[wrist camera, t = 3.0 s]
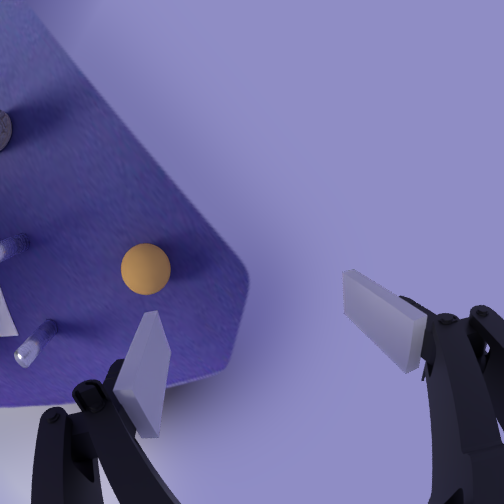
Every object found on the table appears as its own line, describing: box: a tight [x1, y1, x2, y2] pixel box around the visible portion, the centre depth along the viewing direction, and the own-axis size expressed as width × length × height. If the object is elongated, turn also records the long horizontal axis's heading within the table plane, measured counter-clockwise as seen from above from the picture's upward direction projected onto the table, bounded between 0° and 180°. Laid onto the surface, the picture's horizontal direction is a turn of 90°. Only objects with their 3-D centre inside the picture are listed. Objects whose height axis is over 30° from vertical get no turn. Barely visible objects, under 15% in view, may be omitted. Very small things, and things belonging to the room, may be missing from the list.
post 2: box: [14, 319, 58, 368], centre depth 26 cm, size 2×2×9 cm
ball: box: [121, 243, 171, 295], centre depth 29 cm, size 6×6×6 cm
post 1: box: [0, 233, 30, 262], centre depth 23 cm, size 2×2×9 cm
